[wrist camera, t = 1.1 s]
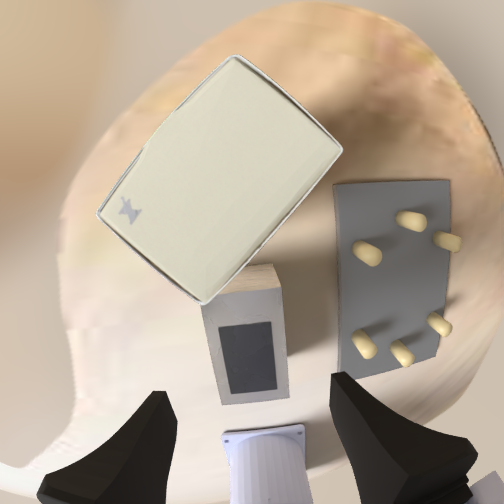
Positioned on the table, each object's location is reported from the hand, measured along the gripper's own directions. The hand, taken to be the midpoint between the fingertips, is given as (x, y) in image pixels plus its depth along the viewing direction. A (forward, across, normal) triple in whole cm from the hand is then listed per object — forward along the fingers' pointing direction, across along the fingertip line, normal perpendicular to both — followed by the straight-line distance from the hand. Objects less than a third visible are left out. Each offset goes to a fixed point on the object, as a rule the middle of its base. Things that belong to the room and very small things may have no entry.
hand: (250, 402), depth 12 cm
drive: (+10, 0, +1) cm, 10 cm away
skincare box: (+11, 0, -9) cm, 14 cm away
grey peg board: (+10, -12, 0) cm, 16 cm away
